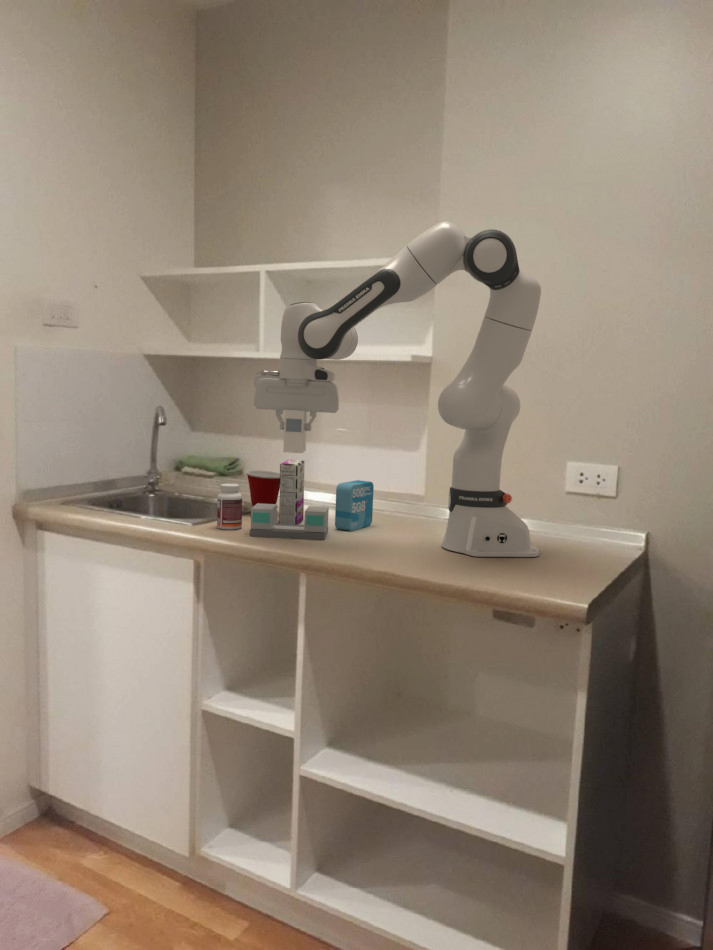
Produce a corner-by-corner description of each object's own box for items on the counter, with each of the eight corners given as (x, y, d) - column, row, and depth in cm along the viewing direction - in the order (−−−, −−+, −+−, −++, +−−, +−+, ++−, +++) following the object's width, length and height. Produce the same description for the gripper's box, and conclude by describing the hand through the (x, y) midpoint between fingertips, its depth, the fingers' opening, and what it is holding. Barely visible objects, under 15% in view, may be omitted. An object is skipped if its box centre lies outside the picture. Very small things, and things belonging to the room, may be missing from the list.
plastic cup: (273, 519, 203) (274, 475, 201) (238, 515, 206) (238, 472, 205) (289, 513, 213) (291, 471, 211) (255, 510, 216) (256, 469, 215)
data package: (349, 532, 189) (351, 485, 188) (334, 529, 191) (336, 483, 190) (372, 525, 199) (374, 481, 198) (357, 523, 202) (359, 479, 200)
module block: (305, 450, 183) (307, 409, 181) (302, 453, 175) (303, 410, 174) (287, 449, 183) (289, 408, 181) (283, 452, 176) (284, 409, 174)
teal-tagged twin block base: (328, 532, 188) (329, 506, 187) (324, 539, 178) (325, 512, 177) (257, 528, 189) (258, 502, 188) (249, 536, 179) (250, 509, 178)
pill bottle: (246, 527, 189) (247, 484, 188) (231, 531, 184) (232, 487, 182) (227, 524, 192) (228, 482, 191) (211, 528, 187) (212, 484, 185)
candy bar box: (285, 518, 205) (287, 459, 203) (303, 519, 204) (305, 459, 202) (277, 525, 194) (279, 462, 192) (296, 526, 193) (298, 463, 191)
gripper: (252, 369, 174) (250, 428, 176) (339, 374, 173) (336, 433, 175) (256, 370, 180) (254, 426, 182) (341, 374, 180) (338, 431, 181)
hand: (295, 430), depth 179 cm, fingers closed on module block, 4 cm apart
